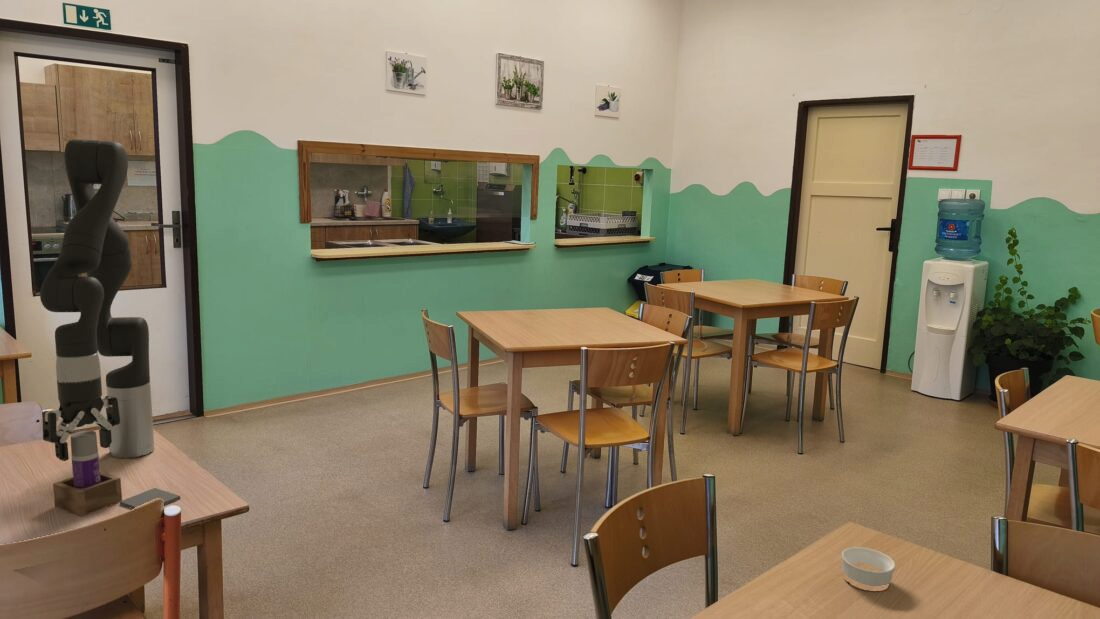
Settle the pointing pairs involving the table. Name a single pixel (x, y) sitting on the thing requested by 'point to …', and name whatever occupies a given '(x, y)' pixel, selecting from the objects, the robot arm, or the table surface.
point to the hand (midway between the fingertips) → (84, 453)
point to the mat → (149, 498)
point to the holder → (87, 495)
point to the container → (85, 459)
